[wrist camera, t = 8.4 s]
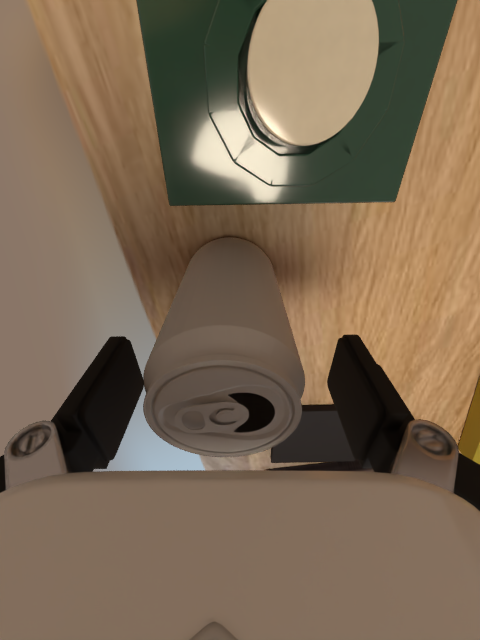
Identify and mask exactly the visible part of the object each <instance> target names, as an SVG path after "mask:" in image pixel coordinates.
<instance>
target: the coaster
mask: <svg viewBox="0 0 480 640" xmlns="http://www.w3.org/2000/svg"><path fill="white" fill-rule="evenodd" d="M354 460H355V458H354V457H353V454H352V451H351V449H350V446H349V443H348V440H347V438H346V435H345V432H344V429H343V427H342V424H341V421H340V418H339V416H338V413H337V410H336V407H335V405H309V406H302V415H301V419H300V422H299V424H298V426H297V428H296V429H295V430H294V432H293V433H292V434H291V435H290V436H288V437H287V438H286V439H285V440H284V441H283V442H281V443H279V444H278V445H276V446H274V447H272V450H271V463H290V462H345V461H354Z"/></svg>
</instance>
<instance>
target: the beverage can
mask: <svg viewBox="0 0 480 640" xmlns="http://www.w3.org/2000/svg"><path fill="white" fill-rule="evenodd" d="M144 387H145V391H146V396H145V399H144V404H143V410H144V415H145V418H146V421H147V423H148V424H149V426H150V427H151V429H152V430H153V431H154V432H155V433H156V434H157V435H158V436H159V437H160V438H162V439H163V440H165V441H166V442H168V443H169V444H171V445H173V446H175V447H177V448H179V449H182V450H185V451H188V452H191V453H195V454H199V455H204V456H212V457H238V456H245V455H251V454H255V453H259V452H262V451H265V450H267V449H270V448H272V447H274V446H276V445H278V444H279V443H281V442H283V441H284V440H285V439H286V438H287V437H288V436H290V435H291V434H292V433H293V432H294V430H295V429H296V428H297V426H298V424H299V422H300V419H301V415H302V404H301V400H300V399H301V397H302V395H303V391H304V387H305V376H304V371H303V368H302V364H301V361H300V357H299V354H298V351H297V347H296V344H295V341H294V337H293V334H292V330H291V327H290V324H289V320H288V317H287V313H286V310H285V307H284V303H283V300H282V297H281V293H280V290H279V286H278V283H277V280H276V276H275V273H274V269H273V266H272V264H271V262H270V260H269V258H268V257H267V255H266V254H265V253H264V252H263V251H262V250H261V249H260V248H259V247H257V246H256V245H254V244H253V243H251V242H249V241H246V240H243V239H239V238H221V239H217V240H214V241H211V242H209V243H207V244H205V245H204V246H202V247H201V248H200V249H199V250H198V251H197V252H196V253H195V254H194V256H193V257H192V259H191V260H190V262H189V265H188V267H187V269H186V272H185V274H184V277H183V279H182V281H181V284H180V286H179V288H178V291H177V293H176V295H175V298H174V300H173V302H172V305H171V307H170V309H169V312H168V314H167V317H166V319H165V321H164V324H163V326H162V328H161V331H160V333H159V335H158V338H157V340H156V343H155V345H154V347H153V350H152V352H151V354H150V357H149V359H148V361H147V364H146V367H145V370H144Z"/></svg>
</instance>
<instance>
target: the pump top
mask: <svg viewBox="0 0 480 640" xmlns="http://www.w3.org/2000/svg"><path fill="white" fill-rule="evenodd" d="M378 46H379V30H378V22H377V16H376V12H375V8H374V5H373V2H372V0H266V2H265V4H264V5H263V7H262V9H261V11H260V13H259V16H258V18H257V20H256V23H255V26H254V29H253V32H252V36H251V40H250V44H249V51H248V58H247V67H246V80H245V84H246V95H247V101H248V105H249V109H250V112H251V114H252V117H253V119H254V121H255V123H256V124H257V126H258V127H259V129H260V130H261V131H262V132H263V133H264V134H265V135H266V136H267V137H268V138H269V139H271V140H272V141H274V142H276V143H278V144H281V145H285V146H309V145H314V144H318V143H320V142H323V141H325V140H327V139H329V138H331V137H332V136H334V135H335V134H336V133H338V132H339V131H340V130H341V129H342V128H344V127H345V126H346V125H347V124H348V122H349V121H350V120H351V119H352V118H353V116H354V115H355V114H356V112H357V111H358V109H359V108H360V106H361V104H362V103H363V101H364V99H365V97H366V95H367V92H368V90H369V88H370V85H371V82H372V79H373V76H374V72H375V68H376V63H377V57H378Z"/></svg>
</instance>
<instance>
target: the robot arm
mask: <svg viewBox="0 0 480 640" xmlns="http://www.w3.org/2000/svg"><path fill="white" fill-rule="evenodd" d="M327 383H328V388H329V391H330V394H331V396H332V399H333V402H334V405H335V407H336V410H337V413H338V416H339V418H340V421H341V424H342V427H343V429H344V432H345V435H346V438H347V440H348V443H349V446H350V449H351V451H352V454H353V457H354V458H355V459H356V460H359V462H360V465H361V468H373V471H374V472H360V471H104V472H92V471H93V469H106V468H107V466H108V463H109V461H110V460H113V459H114V457H115V455H116V453H117V450H118V448H119V445H120V443H121V441H122V438H123V436H124V433H125V431H126V429H127V426H128V424H129V421H130V419H131V416H132V414H133V412H134V409H135V407H136V404H137V402H138V400H139V397H140V395H141V392H142V390H143V386H144V380H143V377H142V374H141V371H140V369H139V365H138V362H137V359H136V356H135V353H134V350H133V348H132V344H131V342H130V340H127V339H126V337H110V338H109V339H108V341H107V342H106V343H105V345H104V346H103V348H102V349H101V350H100V352H99V353H98V355H97V356H96V358H95V359H94V361H93V362H92V364H91V365H90V366H89V368H88V369H87V370H86V372H85V373H84V375H83V376H82V378H81V379H80V380H79V382H78V383H77V385H76V386H75V387H74V389H73V390H72V392H71V393H70V395H69V396H68V397H67V399H66V400H65V402H64V403H63V404H62V406H61V408H60V409H59V410H58V412H57V413H56V414H55V416H54V417H53V419H52V420H51V422H50V421H40V422H36V423H33V424H30V425H28V426H27V427H25V428H23V429H22V430H20V431H19V432H18V433H17V434H15V435H14V436H13V437H12V439H11V440H10V441H9V442H8V444H7V446H6V448H5V452H4V455H3V456H1V457H0V640H480V464H478V463H476V462H474V461H473V460H471V459H469V458H467V457H466V456H464V455H462V454H461V453H459V451H458V446H457V444H456V442H455V440H454V439H453V437H452V436H451V435H450V434H449V433H448V432H447V431H446V430H444V429H443V428H442V427H440V426H438V425H437V424H435V423H432V422H430V421H427V420H421V419H418V420H415V419H414V417H413V416H412V414H411V413H410V411H409V409H408V408H407V406H406V405H405V403H404V402H403V400H402V399H401V397H400V395H399V394H398V392H397V391H396V389H395V388H394V386H393V385H392V383H391V381H390V380H389V378H388V377H387V375H386V374H385V372H384V371H383V369H382V368H381V367H380V365H378V364H376V362H375V361H374V359H373V357H372V356H371V354H370V353H369V351H368V349H367V348H366V346H365V345H364V343H363V342H362V340H361V338H360V337H359V336H358V335H343V337H342V338H339V339H338V342H337V346H336V350H335V354H334V357H333V361H332V365H331V369H330V372H329V376H328V381H327Z"/></svg>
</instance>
